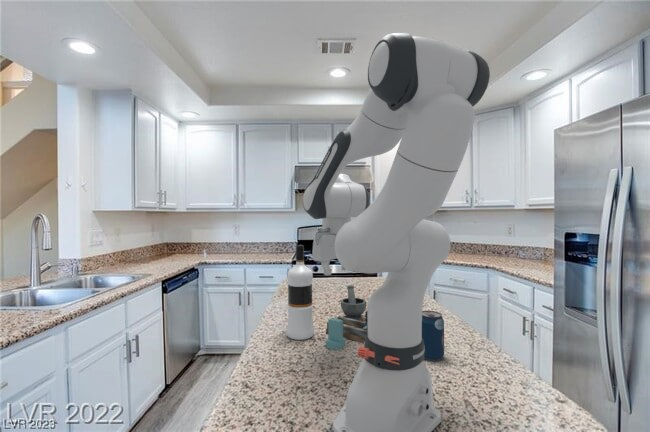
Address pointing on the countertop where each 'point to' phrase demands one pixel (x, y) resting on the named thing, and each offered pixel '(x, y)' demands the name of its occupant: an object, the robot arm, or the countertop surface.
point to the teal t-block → (335, 334)
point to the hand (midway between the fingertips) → (336, 272)
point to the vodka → (300, 299)
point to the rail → (354, 328)
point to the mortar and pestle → (353, 305)
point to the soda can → (433, 335)
